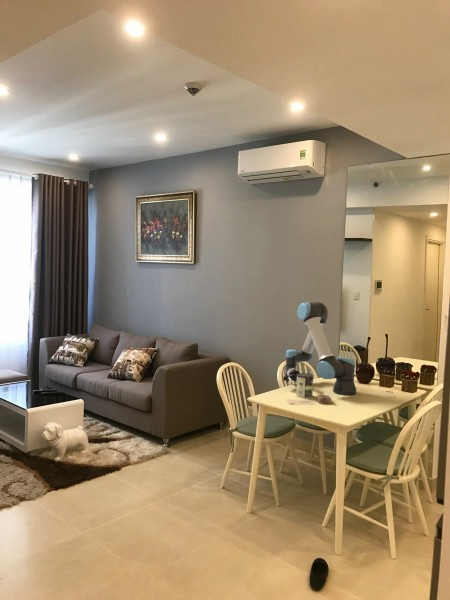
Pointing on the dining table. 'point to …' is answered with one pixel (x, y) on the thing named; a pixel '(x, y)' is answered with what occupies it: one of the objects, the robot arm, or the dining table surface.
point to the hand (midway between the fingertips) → (301, 381)
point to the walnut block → (324, 399)
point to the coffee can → (304, 385)
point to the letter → (300, 402)
